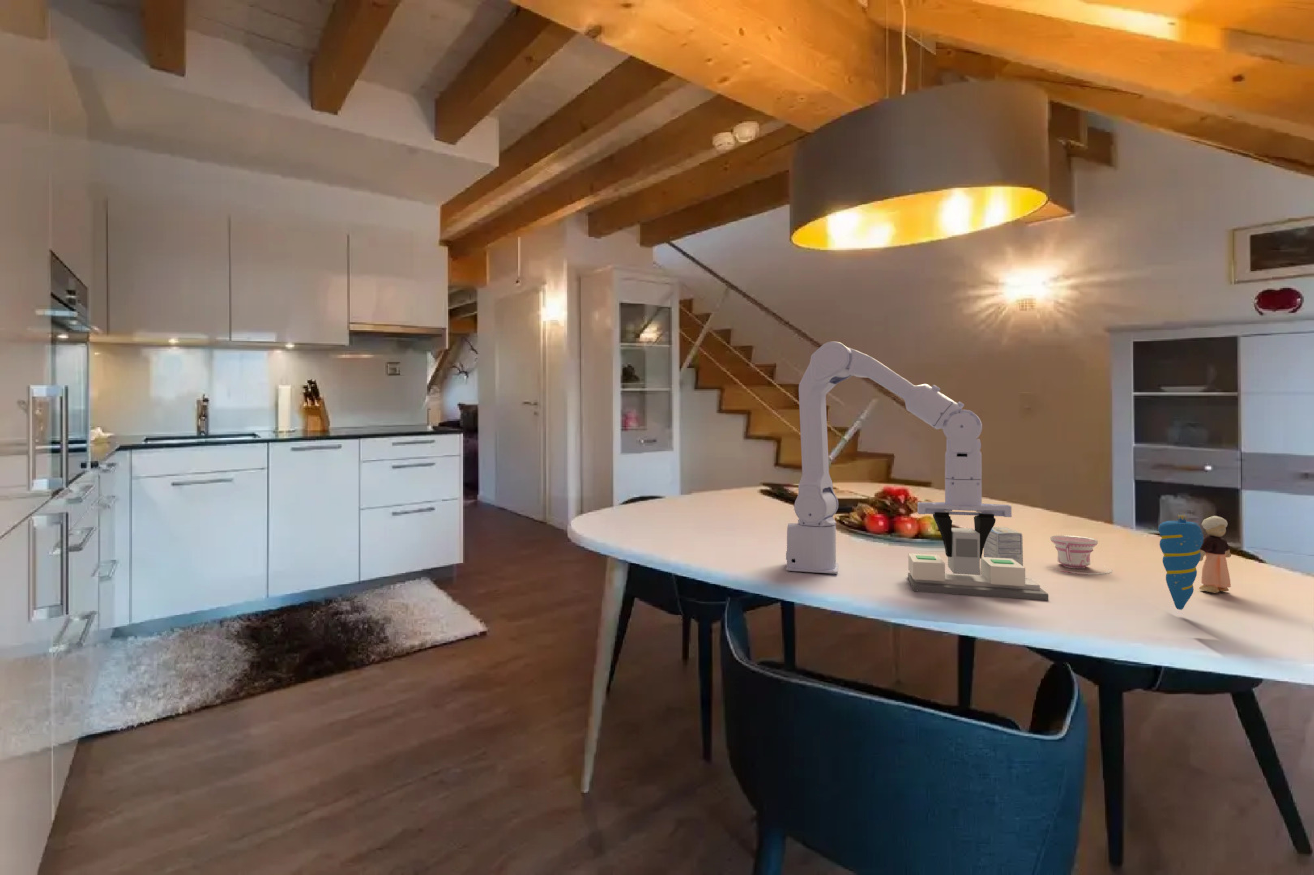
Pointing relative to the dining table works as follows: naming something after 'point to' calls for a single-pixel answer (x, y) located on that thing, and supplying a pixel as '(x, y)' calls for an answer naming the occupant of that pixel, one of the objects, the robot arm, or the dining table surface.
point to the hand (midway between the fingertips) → (963, 556)
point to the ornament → (1180, 557)
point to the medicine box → (1004, 544)
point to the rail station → (973, 578)
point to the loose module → (965, 551)
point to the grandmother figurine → (1215, 556)
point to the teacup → (1074, 551)
